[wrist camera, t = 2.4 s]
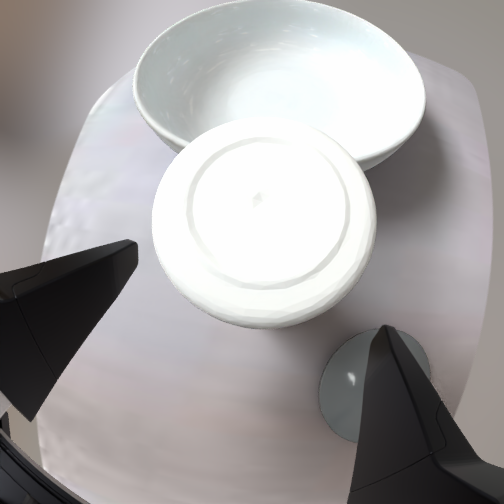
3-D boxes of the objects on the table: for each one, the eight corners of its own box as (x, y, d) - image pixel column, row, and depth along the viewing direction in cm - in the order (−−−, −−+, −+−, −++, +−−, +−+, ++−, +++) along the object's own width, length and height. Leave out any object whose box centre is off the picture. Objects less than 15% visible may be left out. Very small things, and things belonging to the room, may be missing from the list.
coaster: (379, 454, 15) (383, 458, 14) (293, 405, 16) (294, 409, 15) (441, 363, 16) (447, 364, 15) (365, 305, 17) (369, 304, 17)
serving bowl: (398, 79, 23) (418, 33, 16) (374, 261, 18) (423, 229, 12) (219, 35, 26) (211, -11, 19) (117, 177, 21) (74, 130, 14)
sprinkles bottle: (290, 248, 19) (332, 95, 6) (309, 315, 18) (415, 285, 5) (222, 265, 19) (137, 139, 6) (239, 334, 17) (167, 355, 4)
